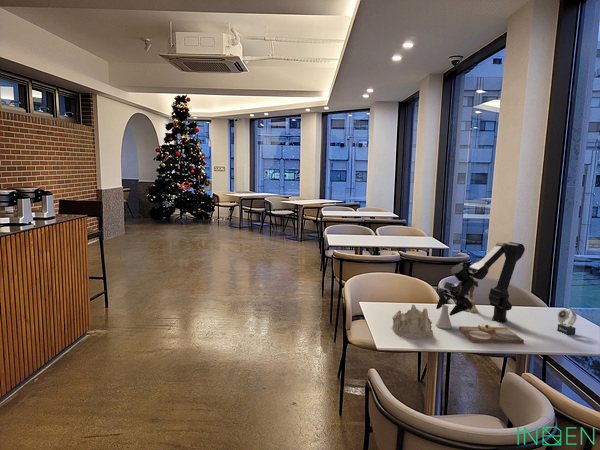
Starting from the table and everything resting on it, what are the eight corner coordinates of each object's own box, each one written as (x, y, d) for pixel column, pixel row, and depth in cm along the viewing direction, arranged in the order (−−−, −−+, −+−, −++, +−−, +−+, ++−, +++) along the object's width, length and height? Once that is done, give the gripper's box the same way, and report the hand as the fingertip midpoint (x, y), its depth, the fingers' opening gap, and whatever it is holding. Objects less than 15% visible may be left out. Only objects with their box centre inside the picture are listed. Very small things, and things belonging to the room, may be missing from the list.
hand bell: (475, 308, 227) (478, 279, 225) (479, 313, 219) (482, 283, 217) (459, 306, 228) (461, 278, 226) (463, 311, 220) (465, 282, 218)
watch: (553, 330, 196) (556, 307, 194) (568, 329, 198) (570, 307, 196) (563, 335, 190) (566, 311, 189) (578, 334, 192) (581, 311, 191)
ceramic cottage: (438, 337, 183) (438, 303, 182) (403, 341, 179) (403, 306, 178) (420, 327, 198) (420, 295, 197) (387, 330, 194) (387, 298, 193)
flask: (453, 330, 193) (454, 309, 192) (436, 328, 194) (438, 307, 193) (450, 324, 200) (452, 304, 199) (434, 323, 201) (436, 303, 200)
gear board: (458, 329, 194) (459, 321, 193) (506, 330, 194) (506, 322, 194) (472, 342, 179) (473, 334, 179) (523, 343, 179) (524, 335, 179)
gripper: (441, 271, 204) (421, 295, 202) (469, 281, 187) (447, 307, 185) (453, 286, 208) (433, 309, 206) (482, 297, 191) (460, 322, 188)
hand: (443, 311), depth 196 cm, fingers open, 9 cm apart
